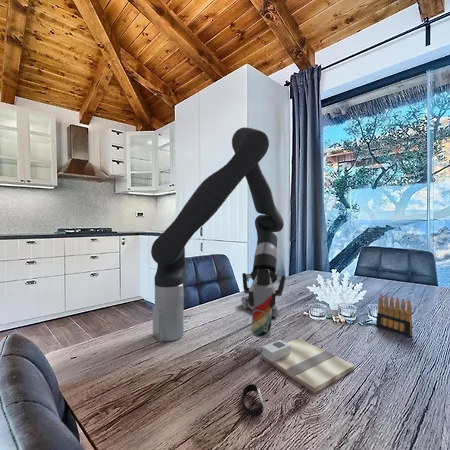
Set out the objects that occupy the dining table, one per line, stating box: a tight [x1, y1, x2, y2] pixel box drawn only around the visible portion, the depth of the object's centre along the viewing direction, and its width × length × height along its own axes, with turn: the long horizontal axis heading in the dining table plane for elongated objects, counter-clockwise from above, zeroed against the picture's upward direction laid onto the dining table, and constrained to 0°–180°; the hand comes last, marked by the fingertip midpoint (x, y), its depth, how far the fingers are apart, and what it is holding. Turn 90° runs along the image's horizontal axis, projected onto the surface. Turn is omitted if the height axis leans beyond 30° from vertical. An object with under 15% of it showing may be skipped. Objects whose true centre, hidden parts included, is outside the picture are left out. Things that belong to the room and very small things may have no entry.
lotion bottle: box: [251, 269, 274, 339], centre depth 81 cm, size 6×6×20 cm
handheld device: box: [240, 295, 279, 318], centre depth 111 cm, size 10×20×5 cm, turn 29°
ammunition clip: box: [375, 293, 413, 338], centre depth 92 cm, size 11×2×12 cm, turn 36°
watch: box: [241, 383, 265, 418], centre depth 57 cm, size 8×5×4 cm, turn 5°
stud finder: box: [261, 339, 291, 362], centre depth 75 cm, size 7×4×3 cm, turn 124°
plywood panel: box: [260, 337, 355, 394], centre depth 73 cm, size 16×18×1 cm
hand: (261, 306), depth 79 cm, fingers closed on lotion bottle, 5 cm apart
